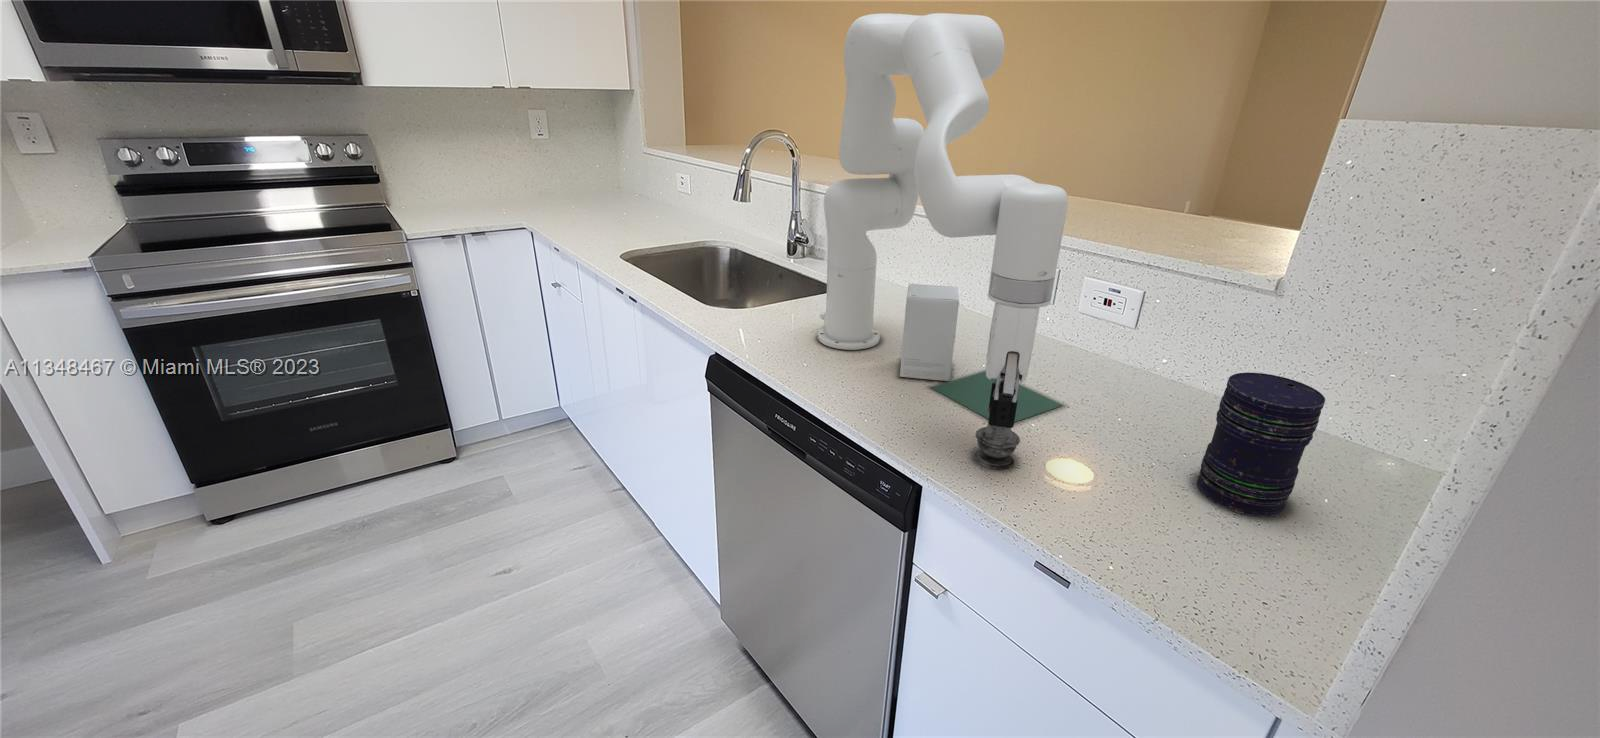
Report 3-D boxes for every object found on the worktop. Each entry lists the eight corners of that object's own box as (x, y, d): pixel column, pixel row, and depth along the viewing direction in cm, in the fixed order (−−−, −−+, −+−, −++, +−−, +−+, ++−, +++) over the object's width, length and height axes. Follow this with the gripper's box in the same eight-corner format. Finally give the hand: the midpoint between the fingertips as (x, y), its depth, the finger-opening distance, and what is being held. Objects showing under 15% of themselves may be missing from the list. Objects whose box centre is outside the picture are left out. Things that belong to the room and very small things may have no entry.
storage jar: (1251, 525, 77) (1291, 414, 71) (1178, 482, 85) (1208, 379, 79) (1303, 506, 81) (1346, 399, 75) (1228, 466, 89) (1261, 367, 83)
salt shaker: (993, 474, 86) (1005, 394, 82) (963, 454, 91) (973, 376, 86) (1025, 464, 89) (1039, 385, 84) (995, 444, 94) (1006, 369, 89)
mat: (930, 387, 111) (931, 387, 111) (989, 371, 118) (989, 370, 118) (1001, 427, 99) (1002, 426, 99) (1062, 405, 105) (1062, 405, 105)
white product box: (950, 382, 113) (960, 300, 107) (899, 377, 114) (905, 296, 108) (950, 363, 121) (958, 285, 115) (902, 359, 123) (908, 282, 117)
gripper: (990, 268, 88) (974, 389, 96) (988, 304, 74) (969, 444, 81) (1048, 273, 86) (1027, 395, 94) (1058, 311, 72) (1032, 453, 79)
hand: (1000, 417), depth 87 cm, fingers closed on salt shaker, 3 cm apart
